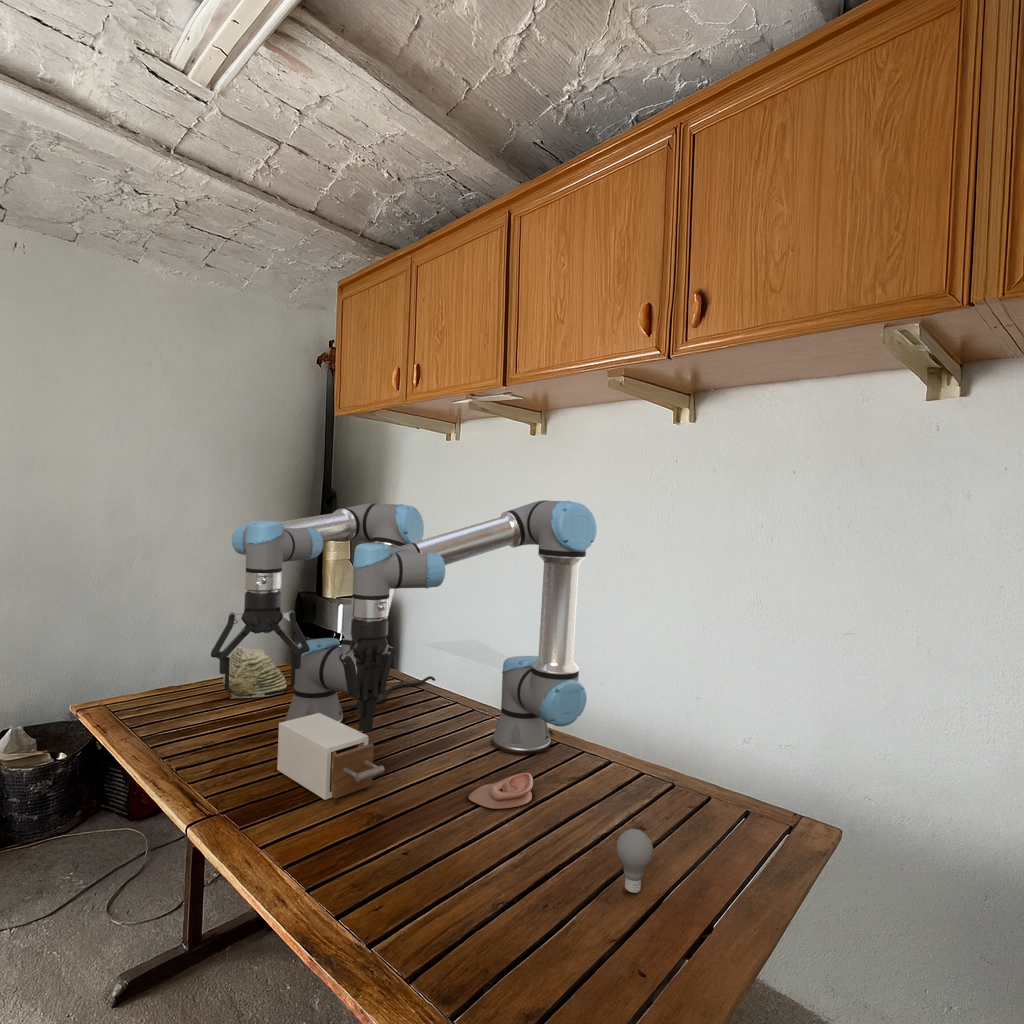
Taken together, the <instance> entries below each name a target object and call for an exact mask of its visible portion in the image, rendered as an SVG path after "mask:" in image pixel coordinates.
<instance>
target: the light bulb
mask: <svg viewBox="0 0 1024 1024" xmlns="http://www.w3.org/2000/svg"><path fill="white" fill-rule="evenodd" d="M615 849H616V854H617V857H618V859H619V861H620V863H621V865H622V867H623V873H624V874H623V875H624V876H625V878H624V888H625V890H627V891H628V892H630V893H634V894H635V893H639V892H640V891H641V889H642V887H641V886H642V879H643V877H644V875H645V871H646V868H647V867H648V866H649V864H650V863H651V861H652V859H653V855H654V847H653V843H652V841H651V838H649V836H648V835H647V834H646V833H645V832H643V831H642V830H641V829H636V828H629V829H627V830H625V831H623V832H622V833H621V834H620V835H619V837H618V839H617V841H616V847H615Z"/></svg>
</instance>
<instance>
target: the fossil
mask: <svg viewBox="0 0 1024 1024" xmlns="http://www.w3.org/2000/svg"><path fill="white" fill-rule="evenodd" d="M229 657H230V663H229V690H227V691H228V693H229V698H230V699H250V698H264V697H271V696H275V695H281V694H284V693H285V691H286V689H287V687H288V686H287V680H286V678H285V676H284V674H283V673H282V672H281V669H279V668H278V667H277V665H276V663H275V662H274V660H273V659H272V658H271V657H270V656H269V655H268V654H267V653H266V652H265V650H264V649H263V648H260V647H258V648H251V647H247V646H246V647H245V646H237V647H236V648H235V649H234V650H233V651H232V652H231V656H229ZM222 676H223V677H222V685H223V687H224V688H225V674H222Z"/></svg>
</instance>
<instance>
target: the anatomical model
mask: <svg viewBox="0 0 1024 1024" xmlns="http://www.w3.org/2000/svg"><path fill="white" fill-rule="evenodd" d="M533 786H534V778H533V776H532V775H531V773H529V772H521V773H517V774H514V775H511V776H508V777H505V778H504V779H501V780H499V781H496V782H494V783H487V784H484V785H481V786H479V787H477V788H476V789H474V790H473V791H472V792H471V793H470V794H469V795H468V800H469V801H470V802H472V803H475V804H476V805H479V806H481V807H484V808H487V809H494V810H497V809H498V810H499V809H510V808H516V807H520V806H524V805H526V804H528V803H529V802H531V801H532V799H533V793H532V791H531V790H532V789H533Z"/></svg>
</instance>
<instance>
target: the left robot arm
mask: <svg viewBox="0 0 1024 1024" xmlns="http://www.w3.org/2000/svg"><path fill="white" fill-rule="evenodd" d="M424 533H425V524H424V520H423V516H422V514H421V512H420V511H419V510H418V508H416V507H415V506H413V505H408V504H404V503H399V504H396V503H395V504H393V503H378V502H377V503H375V502H373V503H372V502H371V503H370V502H369V503H362V504H357V505H353V506H348V507H343V508H338V509H336V510H335V511H333V512H332V513H327V514H321V515H315V516H309V517H308V516H307V517H302V518H295V519H290V520H282V521H279V520H252V521H250V522H249V523H247V524H242V525H239V526H237V528H236V529H234V531H233V533H232V534H231V546H232V548H233V550H234V551H235V552H236V553H237V554H239V555H244V556H245V573H244V574H245V575H244V589H245V592H244V602H243V603H244V607H243V609H244V610H243V613H235V612H233V611H231V612H229V613H228V619H227V623H226V624H225V627H224V628H223V629H222V632H221V634H220V635H219V637H218V639H217V640H216V642H215V644H214V646H213V647H212V648H211V649H212V650H211V651H210V657H211V658H215V659H218V660H219V672H218V673H219V674H220V675H224V674H225V687H224V691H228V690H229V663H230V657H231V656H230V654H232V653H233V652H234V651H235V650H236V649H237V647H238V646H239V645H240V643H242V642H243V640H244V639H245V638H246V637H247V636H248V635H249V634H251V633H253V634H256V635H257V634H261V633H264V634H270V633H272V632H273V631H274V633H276V635H278V636H279V638H280V639H281V640H282V641H283V642H284V643H285V644H286V645H287V646H288V648H290V650H291V651H292V652H293V653H291V654H290V655H291V656H290V685H291V686H293V695H292V696H293V697H292V699H291V702H290V704H289V708H288V711H287V713H286V715H285V721H289V720H293V719H297V718H301V717H305V716H309V715H313V714H317V713H321V714H323V715H325V716H327V717H329V718H331V719H334V720H336V721H338V722H340V723H342V724H343V722H344V714H343V710H346V709H354V708H357V703H352V704H345V705H341V702H340V699H339V695H338V692H340V693H344V694H348V689H347V684H346V678H345V673H344V667H343V664H342V662H341V661H340V659H339V656H340V655H341V654H344V655H345V654H346V653H347V652H348V651H349V650H350V645H351V643H352V637H351V632H350V634H348V635H347V636H344V638H342V641H341V643H340V640H339V638H335V637H322V638H313V639H308V640H306V638H305V636H304V634H303V632H302V630H301V628H300V627H299V624H298V623H297V619H296V617H297V616H296V612H295V611H294V610H293V609H292V610H289V611H285V612H282V592H281V591H280V590H281V589H282V581H283V577H282V575H283V574H282V573H283V563H285V562H296V561H308V560H312V559H315V558H317V557H319V556H320V554H321V553H322V551H323V548H324V543H328V542H332V541H333V542H334V541H337V540H338V541H339V542H342V543H343V542H344V543H345V542H350V541H353V542H355V541H357V542H365V543H376V544H388V545H390V547H391V546H395V547H400V546H403V545H407V544H411V543H413V542H417V541H420V540H423V538H424ZM395 590H396V589H390V591H389V612H388V614H389V613H390V609H391V606H392V603H393V602H392V601H393V599H394V598H393V597H394V594H395ZM388 617H389V615H388V616H387V617H385V618H386V619H387V620H388ZM283 619H285V621H286V622H288V623H290V625H291V627H292V630H293V631H294V633H295V636H296V637H297V639H298V642H299V643H298V644H297V643H295V642H294V641H293V639H292V638H291V637H290V636H289V635H288V634H287V633H286V632H285V630H284V629H283V628H282V626H280V625H279V624H280V622H281V621H282V620H283ZM240 621H242V622H243V623H244V624H245V625H244V626H243V628H242V629H241V630H240V631H239V632H238V633H237V635H235V637H234V638H233V639H232V640H231V641H230V642H229V643H228V644H227V645H226V646H225V648H224V649H223V650H222V651H221V649H222V647H223V645H224V644H225V642H226V640H227V638H228V636H229V635H230V634H231V632H232V629H233V627H234V625H236V624H238V623H239V622H240ZM340 644H341V645H340ZM354 659H355V657H354ZM354 664H355V668H356V674H357V666H356V659H355V661H354ZM429 680H432V681H433V682H436V679H435V677H434V676H430V675H429V676H427V677H425V678H423V679H422V680H419V681H415V682H407V683H400V684H396V685H393V686H391V687H389V688H388V689H385V692H384V694H381V695H382V696H381V697H380V698H379V700H376V705H377V704H380V703H382V702H383V701H384V700H385V699H386V696H387V694H389V693H390V692H391V691H393V690H395V689H399V688H404V687H413V686H418V685H422V684H424V683H426V682H427V681H429Z"/></svg>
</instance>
